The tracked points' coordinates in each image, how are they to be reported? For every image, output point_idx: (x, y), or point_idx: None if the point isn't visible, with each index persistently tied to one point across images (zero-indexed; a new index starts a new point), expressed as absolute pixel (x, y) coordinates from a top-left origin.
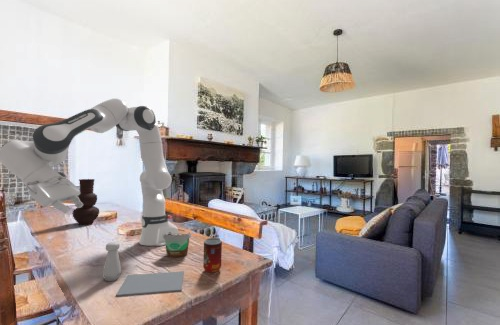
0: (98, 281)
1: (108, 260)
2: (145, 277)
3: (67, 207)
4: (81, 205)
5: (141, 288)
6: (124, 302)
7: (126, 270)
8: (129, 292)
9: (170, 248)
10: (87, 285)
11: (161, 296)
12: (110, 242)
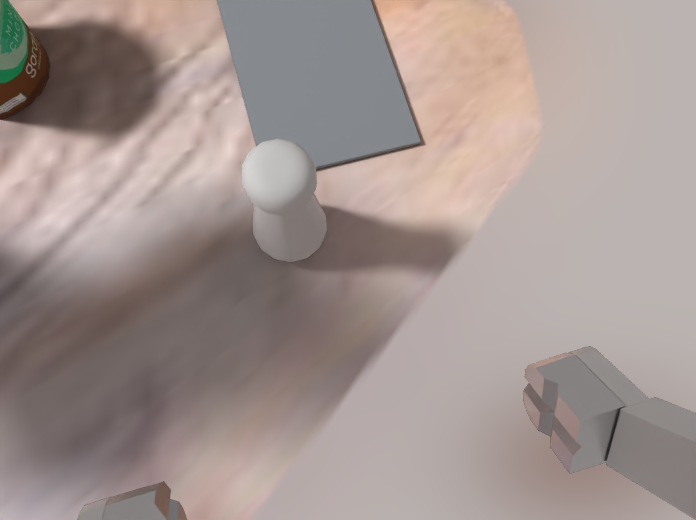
0: (320, 274)
1: (315, 205)
2: (280, 102)
3: (602, 376)
4: (162, 483)
5: (366, 80)
6: (447, 100)
7: (205, 219)
8: (399, 105)
9: (15, 55)
10: (357, 295)
11: (396, 10)
12: (271, 186)
